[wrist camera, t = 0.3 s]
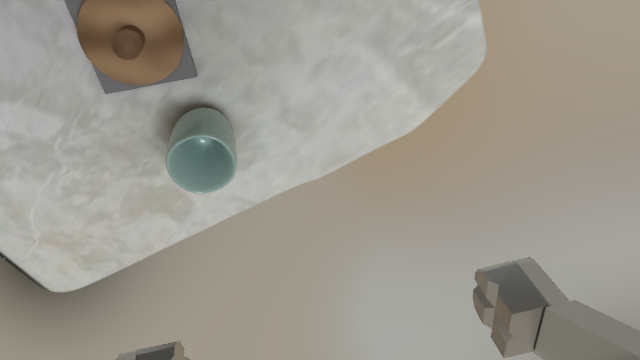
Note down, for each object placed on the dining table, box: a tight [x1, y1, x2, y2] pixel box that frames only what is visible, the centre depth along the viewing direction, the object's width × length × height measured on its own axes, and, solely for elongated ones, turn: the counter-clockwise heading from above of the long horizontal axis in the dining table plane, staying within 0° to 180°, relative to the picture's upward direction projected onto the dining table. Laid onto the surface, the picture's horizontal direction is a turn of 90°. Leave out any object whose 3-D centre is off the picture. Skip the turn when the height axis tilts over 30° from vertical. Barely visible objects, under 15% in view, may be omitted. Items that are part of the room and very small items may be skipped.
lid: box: [77, 0, 184, 85], centre depth 48 cm, size 11×11×4 cm
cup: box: [166, 107, 237, 193], centre depth 53 cm, size 8×8×10 cm
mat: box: [65, 0, 197, 94], centre depth 50 cm, size 12×11×1 cm
